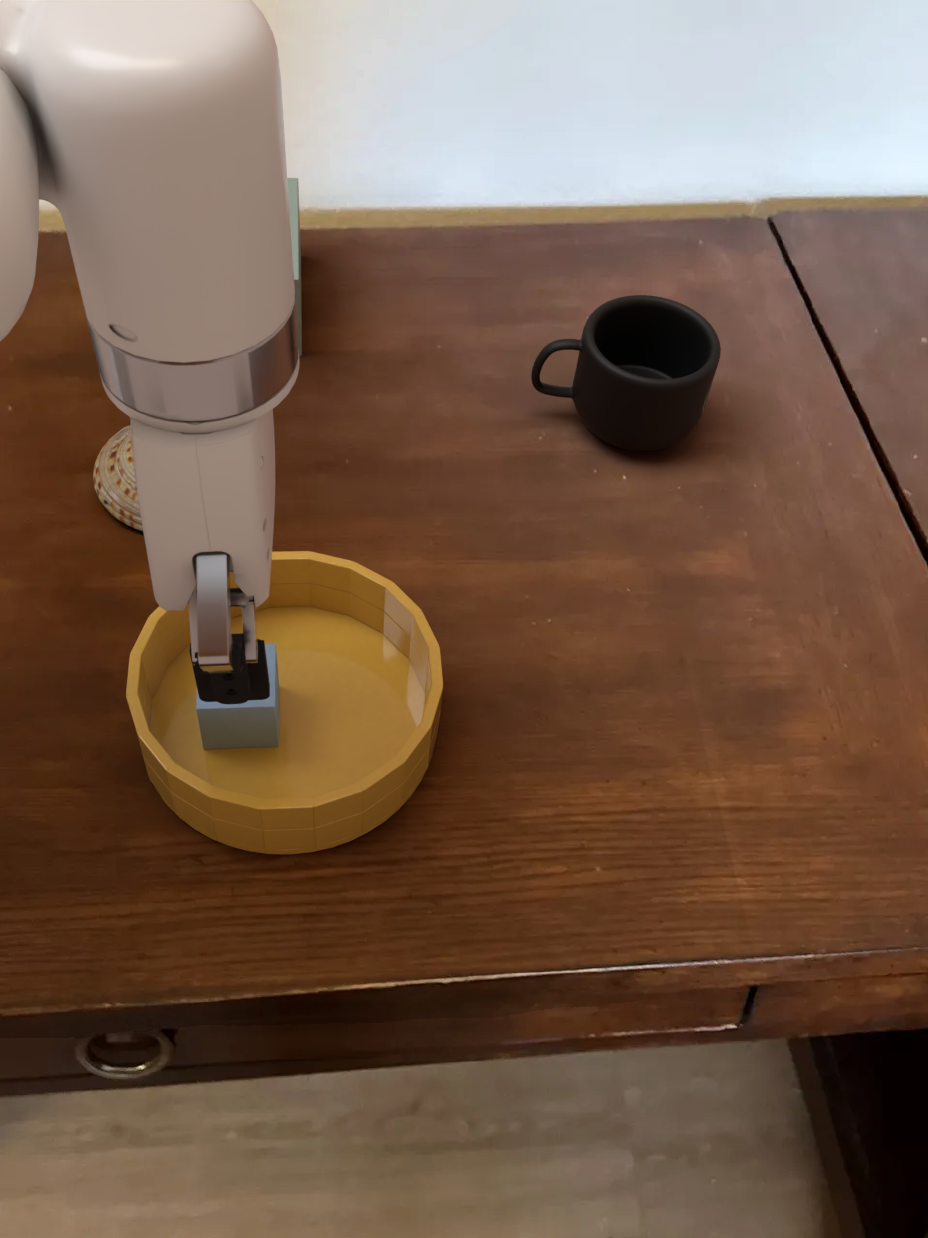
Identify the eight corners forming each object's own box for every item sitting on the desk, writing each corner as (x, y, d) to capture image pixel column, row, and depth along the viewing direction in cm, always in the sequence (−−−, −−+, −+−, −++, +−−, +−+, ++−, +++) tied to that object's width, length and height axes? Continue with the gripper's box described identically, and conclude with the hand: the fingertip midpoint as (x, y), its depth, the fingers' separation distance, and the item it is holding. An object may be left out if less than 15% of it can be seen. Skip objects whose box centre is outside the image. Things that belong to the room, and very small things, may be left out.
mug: (688, 377, 87) (711, 295, 81) (705, 467, 82) (732, 387, 76) (522, 369, 86) (534, 286, 81) (528, 460, 81) (541, 378, 75)
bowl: (128, 862, 61) (113, 815, 57) (150, 608, 71) (139, 553, 67) (447, 848, 63) (454, 801, 59) (426, 602, 73) (431, 548, 69)
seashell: (172, 389, 79) (233, 418, 73) (198, 465, 82) (258, 498, 77) (58, 441, 75) (112, 475, 70) (90, 518, 79) (144, 557, 73)
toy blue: (203, 749, 65) (195, 709, 62) (206, 687, 67) (199, 645, 64) (278, 747, 65) (275, 706, 62) (279, 685, 68) (275, 643, 65)
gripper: (113, 198, 50) (170, 484, 64) (68, 509, 40) (147, 771, 53) (296, 198, 51) (313, 480, 65) (298, 504, 41) (318, 763, 54)
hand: (238, 612), depth 59 cm, fingers open, 9 cm apart
